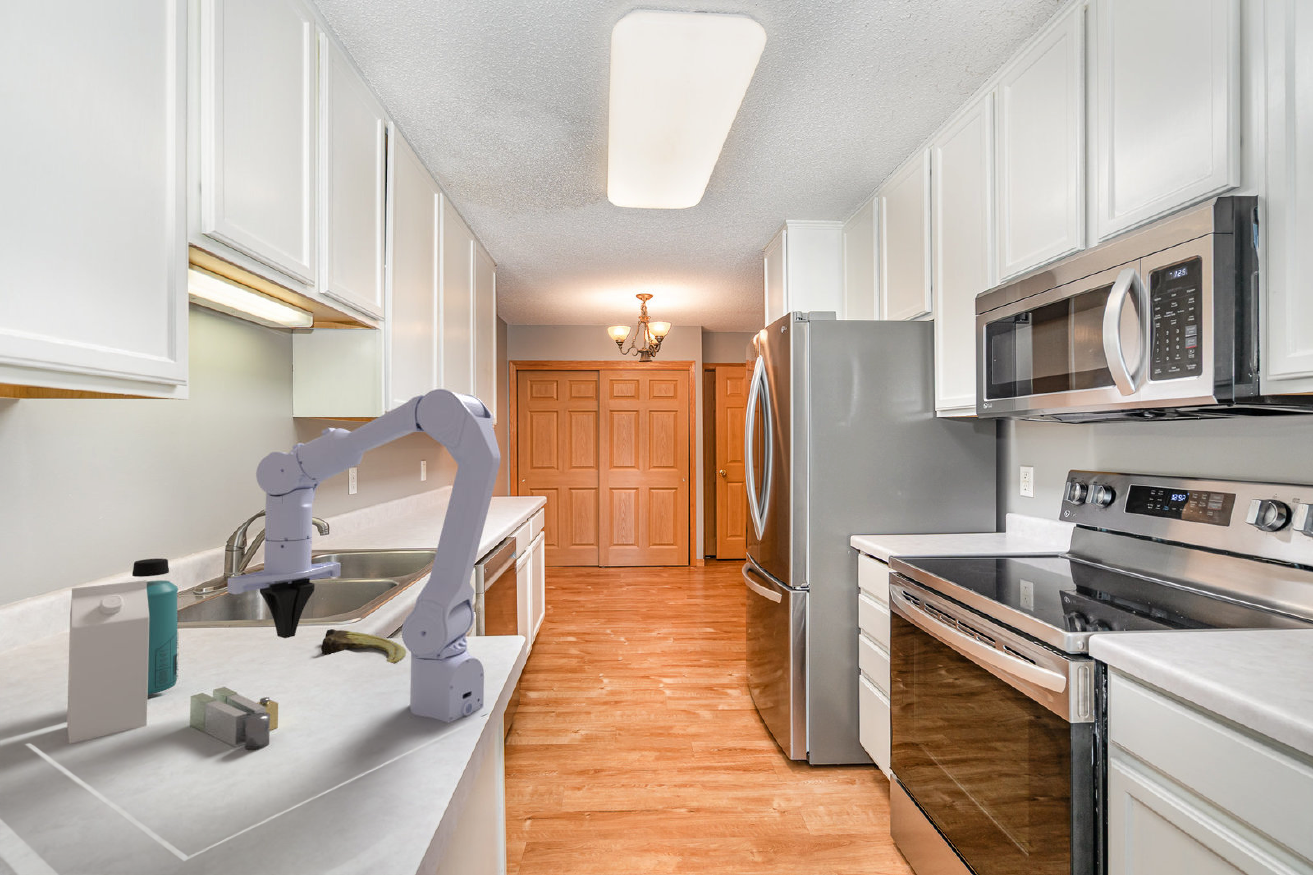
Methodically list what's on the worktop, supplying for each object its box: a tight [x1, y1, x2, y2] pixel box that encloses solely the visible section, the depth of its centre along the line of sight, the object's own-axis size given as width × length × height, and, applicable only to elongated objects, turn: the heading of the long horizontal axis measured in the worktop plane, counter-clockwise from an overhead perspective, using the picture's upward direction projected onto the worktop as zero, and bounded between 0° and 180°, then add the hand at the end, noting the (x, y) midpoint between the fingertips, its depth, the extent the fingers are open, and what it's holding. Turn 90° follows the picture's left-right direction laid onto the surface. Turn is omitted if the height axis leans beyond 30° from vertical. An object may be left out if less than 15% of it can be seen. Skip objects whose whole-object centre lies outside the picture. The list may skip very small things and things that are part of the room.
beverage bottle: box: [131, 558, 180, 696], centre depth 91 cm, size 6×7×20 cm
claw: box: [320, 628, 407, 664], centre depth 113 cm, size 20×10×3 cm, turn 69°
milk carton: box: [66, 579, 149, 744], centre depth 79 cm, size 7×7×19 cm
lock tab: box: [256, 696, 279, 731], centre depth 78 cm, size 2×2×4 cm
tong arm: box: [212, 686, 266, 717], centre depth 78 cm, size 11×1×4 cm, turn 57°
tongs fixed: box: [189, 692, 271, 751], centre depth 76 cm, size 14×3×4 cm, turn 59°
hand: (286, 636), depth 88 cm, fingers closed
